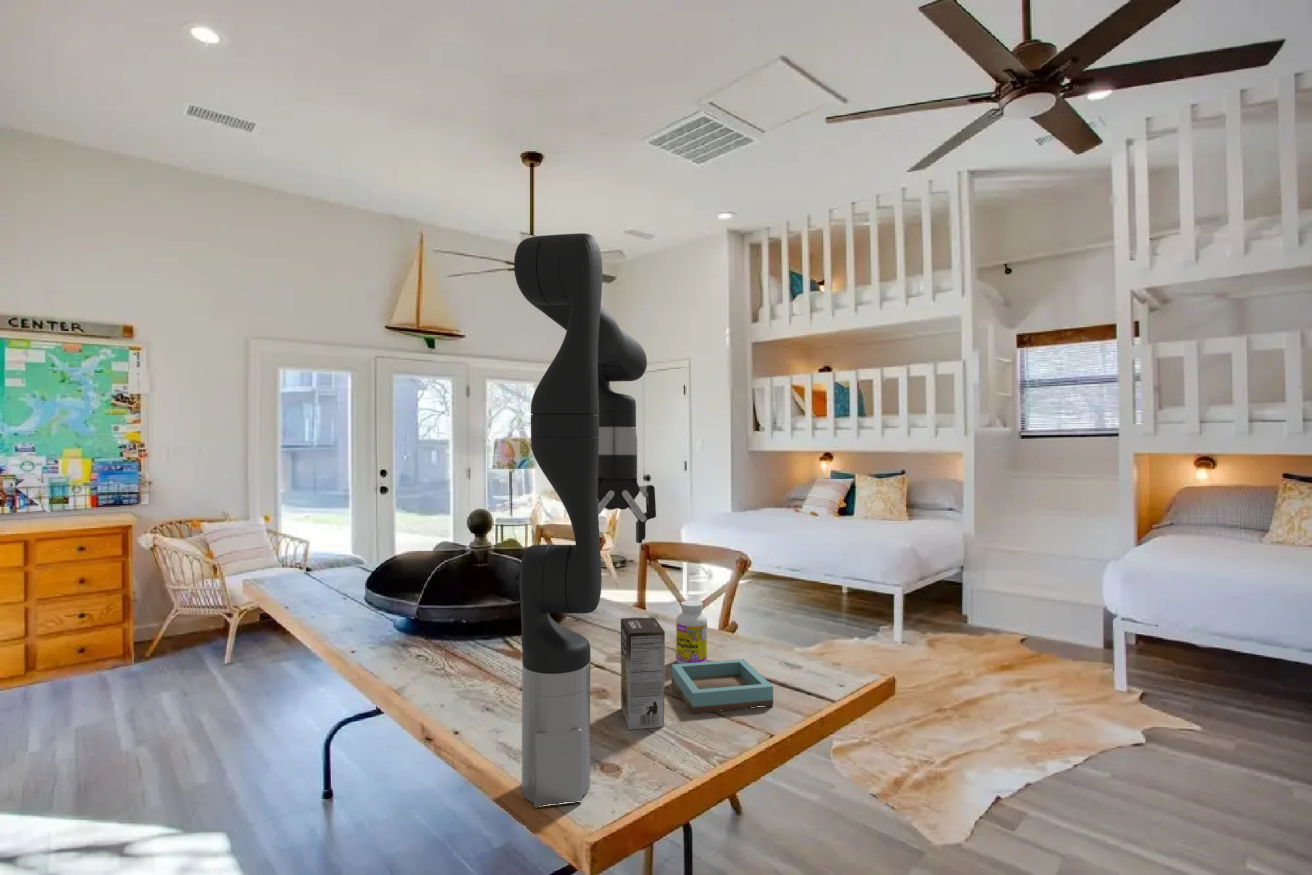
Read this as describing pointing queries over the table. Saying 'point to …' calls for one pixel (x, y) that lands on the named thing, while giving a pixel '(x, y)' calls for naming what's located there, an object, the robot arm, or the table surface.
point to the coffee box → (642, 672)
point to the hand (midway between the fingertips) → (615, 543)
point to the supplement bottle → (691, 633)
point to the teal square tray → (721, 686)
